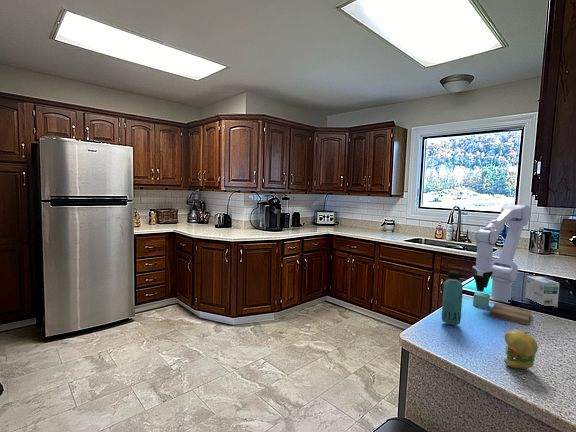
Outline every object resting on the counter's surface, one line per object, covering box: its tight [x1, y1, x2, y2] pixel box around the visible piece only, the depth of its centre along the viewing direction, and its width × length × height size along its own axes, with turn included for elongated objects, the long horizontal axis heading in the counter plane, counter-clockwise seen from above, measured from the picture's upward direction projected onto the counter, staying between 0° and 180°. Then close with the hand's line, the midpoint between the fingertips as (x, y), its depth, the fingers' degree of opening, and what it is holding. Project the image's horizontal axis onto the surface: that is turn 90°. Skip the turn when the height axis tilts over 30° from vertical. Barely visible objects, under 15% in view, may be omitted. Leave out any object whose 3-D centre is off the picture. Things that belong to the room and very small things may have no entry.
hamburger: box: [503, 329, 539, 369], centre depth 88 cm, size 8×7×12 cm
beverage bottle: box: [441, 270, 464, 326], centre depth 115 cm, size 6×7×20 cm
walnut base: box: [489, 302, 532, 326], centre depth 125 cm, size 12×12×2 cm
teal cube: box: [472, 291, 491, 309], centre depth 136 cm, size 5×5×5 cm
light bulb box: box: [525, 275, 561, 308], centre depth 141 cm, size 11×7×11 cm, turn 179°
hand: (481, 289), depth 136 cm, fingers open, 7 cm apart
